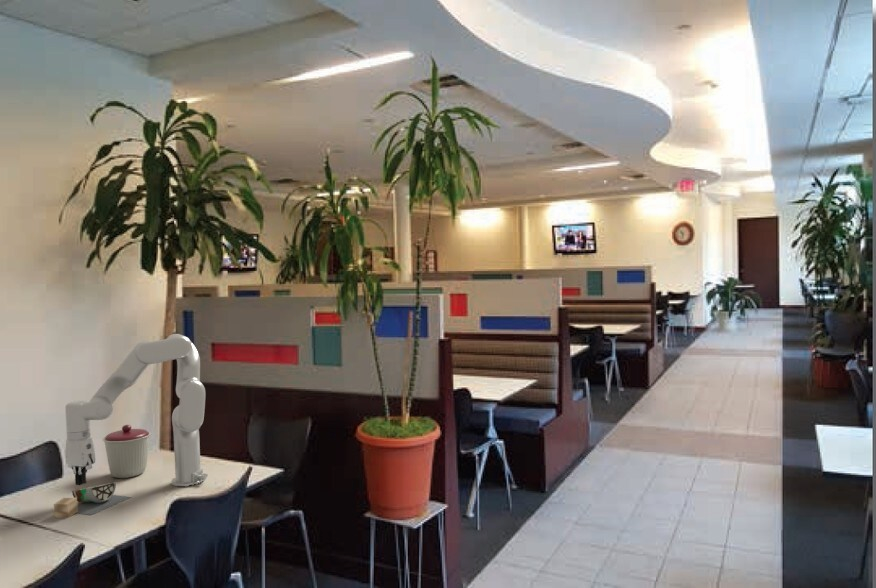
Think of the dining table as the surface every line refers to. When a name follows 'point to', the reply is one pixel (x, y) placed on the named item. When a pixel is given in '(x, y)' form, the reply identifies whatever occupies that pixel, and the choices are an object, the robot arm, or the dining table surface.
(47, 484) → the dining table surface
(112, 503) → the mat
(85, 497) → the food container
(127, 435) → the canister
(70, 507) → the oak block
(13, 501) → the dining table surface
